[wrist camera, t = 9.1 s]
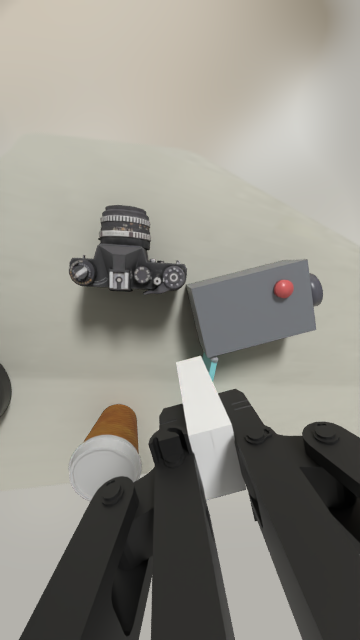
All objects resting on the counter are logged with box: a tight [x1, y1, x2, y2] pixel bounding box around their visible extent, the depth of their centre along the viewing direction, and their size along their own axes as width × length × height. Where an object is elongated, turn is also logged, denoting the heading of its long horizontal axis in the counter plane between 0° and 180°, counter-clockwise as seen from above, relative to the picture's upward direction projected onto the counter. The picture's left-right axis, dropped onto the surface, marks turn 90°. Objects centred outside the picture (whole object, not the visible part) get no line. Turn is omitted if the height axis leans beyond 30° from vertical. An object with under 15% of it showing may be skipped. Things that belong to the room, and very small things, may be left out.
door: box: [202, 352, 218, 382], centre depth 40 cm, size 12×2×6 cm, turn 170°
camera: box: [69, 205, 187, 295], centre depth 34 cm, size 14×11×10 cm
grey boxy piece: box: [186, 259, 323, 358], centre depth 38 cm, size 18×10×8 cm, turn 104°
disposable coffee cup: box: [69, 404, 142, 501], centre depth 38 cm, size 10×10×12 cm
